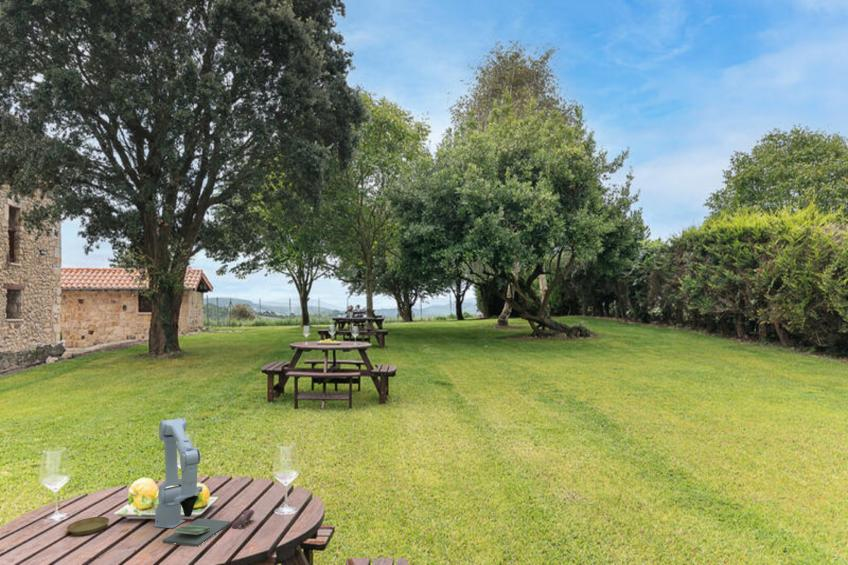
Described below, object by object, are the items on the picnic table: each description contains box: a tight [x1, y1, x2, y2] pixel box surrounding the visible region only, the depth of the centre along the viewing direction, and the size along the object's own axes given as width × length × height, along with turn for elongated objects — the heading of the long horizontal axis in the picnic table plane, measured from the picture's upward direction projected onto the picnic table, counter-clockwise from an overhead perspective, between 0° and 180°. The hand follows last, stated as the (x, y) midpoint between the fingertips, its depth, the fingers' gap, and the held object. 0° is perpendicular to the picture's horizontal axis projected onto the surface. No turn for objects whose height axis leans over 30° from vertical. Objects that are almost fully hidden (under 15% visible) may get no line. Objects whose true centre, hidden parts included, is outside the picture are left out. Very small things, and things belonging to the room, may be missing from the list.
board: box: [161, 517, 233, 547], centre depth 205 cm, size 16×22×1 cm
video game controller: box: [231, 508, 255, 529], centre depth 214 cm, size 10×5×7 cm, turn 170°
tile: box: [174, 524, 211, 535], centre depth 202 cm, size 9×10×1 cm
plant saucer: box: [66, 516, 110, 536], centre depth 208 cm, size 15×15×3 cm
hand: (187, 516), depth 199 cm, fingers closed
